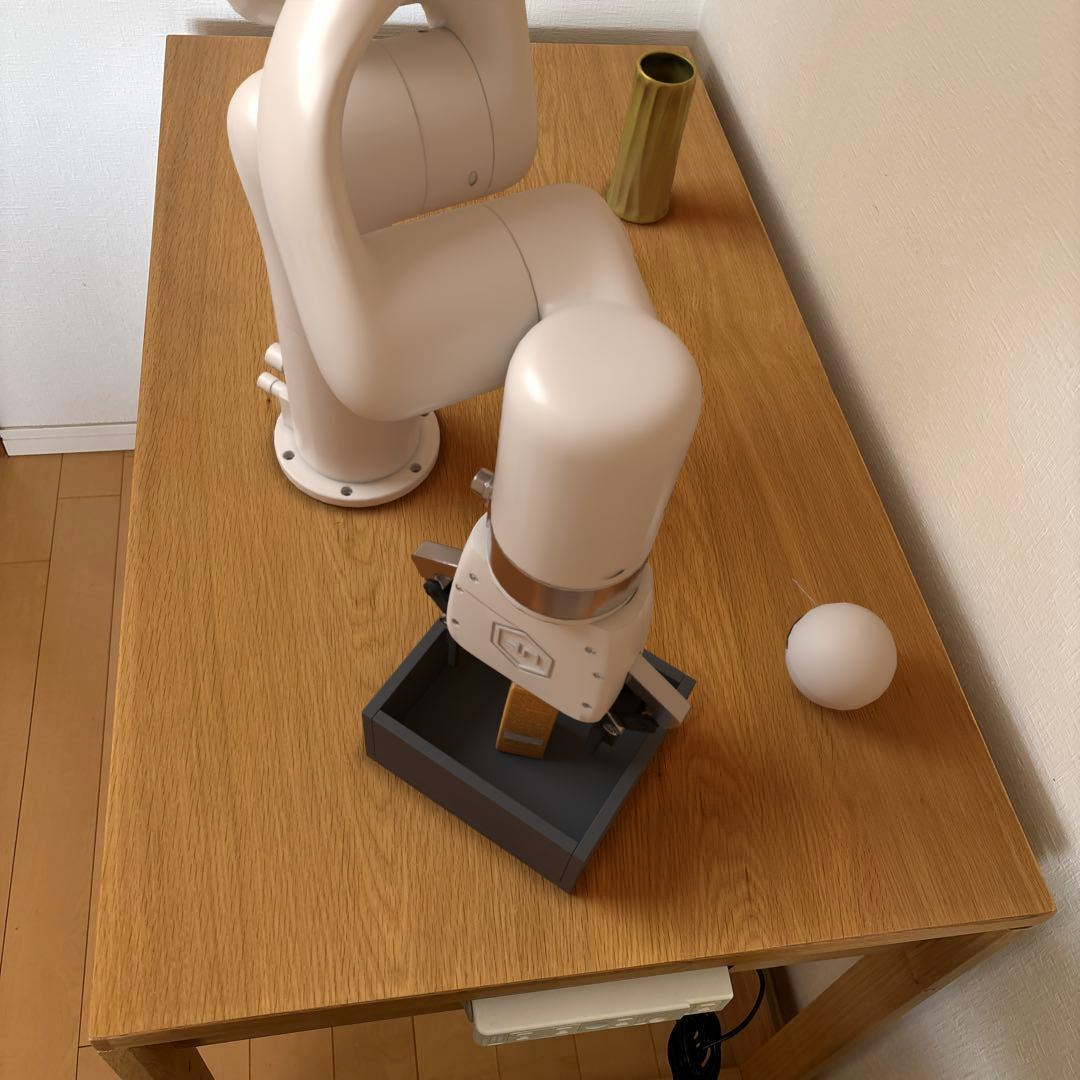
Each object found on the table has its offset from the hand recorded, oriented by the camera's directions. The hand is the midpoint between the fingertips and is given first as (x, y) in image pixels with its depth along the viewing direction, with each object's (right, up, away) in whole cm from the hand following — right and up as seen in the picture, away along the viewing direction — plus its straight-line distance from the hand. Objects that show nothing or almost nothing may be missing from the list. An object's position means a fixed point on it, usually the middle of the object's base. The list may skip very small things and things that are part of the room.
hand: (532, 691), depth 62 cm
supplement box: (-1, -4, +5) cm, 7 cm away
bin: (-1, -4, +6) cm, 7 cm away
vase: (+10, +42, +37) cm, 56 cm away
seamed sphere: (+20, 0, +12) cm, 23 cm away
